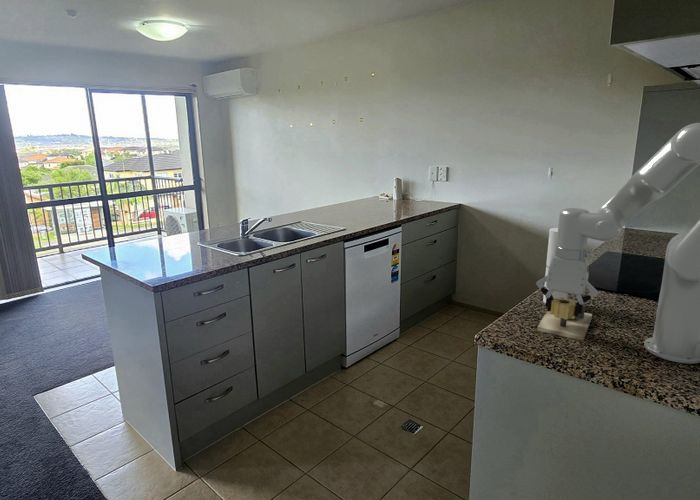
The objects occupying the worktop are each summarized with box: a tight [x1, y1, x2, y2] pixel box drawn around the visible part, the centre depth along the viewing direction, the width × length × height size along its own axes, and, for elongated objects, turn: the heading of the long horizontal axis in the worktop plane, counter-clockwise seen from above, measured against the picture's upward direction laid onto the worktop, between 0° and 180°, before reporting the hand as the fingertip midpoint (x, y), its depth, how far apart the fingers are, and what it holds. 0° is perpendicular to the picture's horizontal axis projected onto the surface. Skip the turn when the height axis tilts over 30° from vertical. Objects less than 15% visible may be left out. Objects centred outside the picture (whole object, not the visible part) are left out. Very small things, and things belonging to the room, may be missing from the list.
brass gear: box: [550, 297, 577, 319], centre depth 123 cm, size 7×7×4 cm
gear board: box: [536, 295, 593, 342], centre depth 127 cm, size 12×18×7 cm, turn 145°
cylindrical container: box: [542, 227, 568, 304], centre depth 141 cm, size 7×7×25 cm
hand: (563, 312), depth 123 cm, fingers closed on brass gear, 6 cm apart
